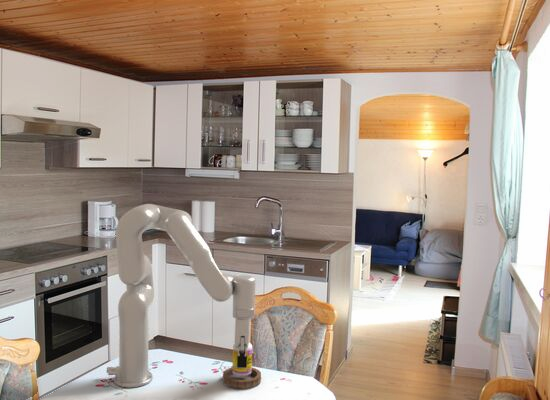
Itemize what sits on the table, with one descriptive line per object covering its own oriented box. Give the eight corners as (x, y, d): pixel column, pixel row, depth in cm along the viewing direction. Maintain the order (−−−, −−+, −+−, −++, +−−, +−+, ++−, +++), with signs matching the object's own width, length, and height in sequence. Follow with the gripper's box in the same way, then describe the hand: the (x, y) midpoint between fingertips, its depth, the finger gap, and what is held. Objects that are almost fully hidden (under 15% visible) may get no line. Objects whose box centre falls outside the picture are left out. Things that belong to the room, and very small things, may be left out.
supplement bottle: (248, 378, 168) (249, 340, 167) (229, 375, 169) (230, 338, 169) (253, 370, 175) (254, 334, 174) (235, 368, 176) (236, 332, 175)
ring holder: (221, 389, 165) (222, 381, 165) (224, 373, 178) (224, 365, 178) (260, 389, 166) (261, 381, 166) (260, 373, 179) (260, 366, 179)
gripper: (233, 304, 179) (232, 353, 180) (231, 319, 162) (230, 373, 163) (254, 305, 180) (253, 353, 181) (254, 319, 162) (252, 373, 163)
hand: (242, 362), depth 172 cm, fingers closed on supplement bottle, 6 cm apart
